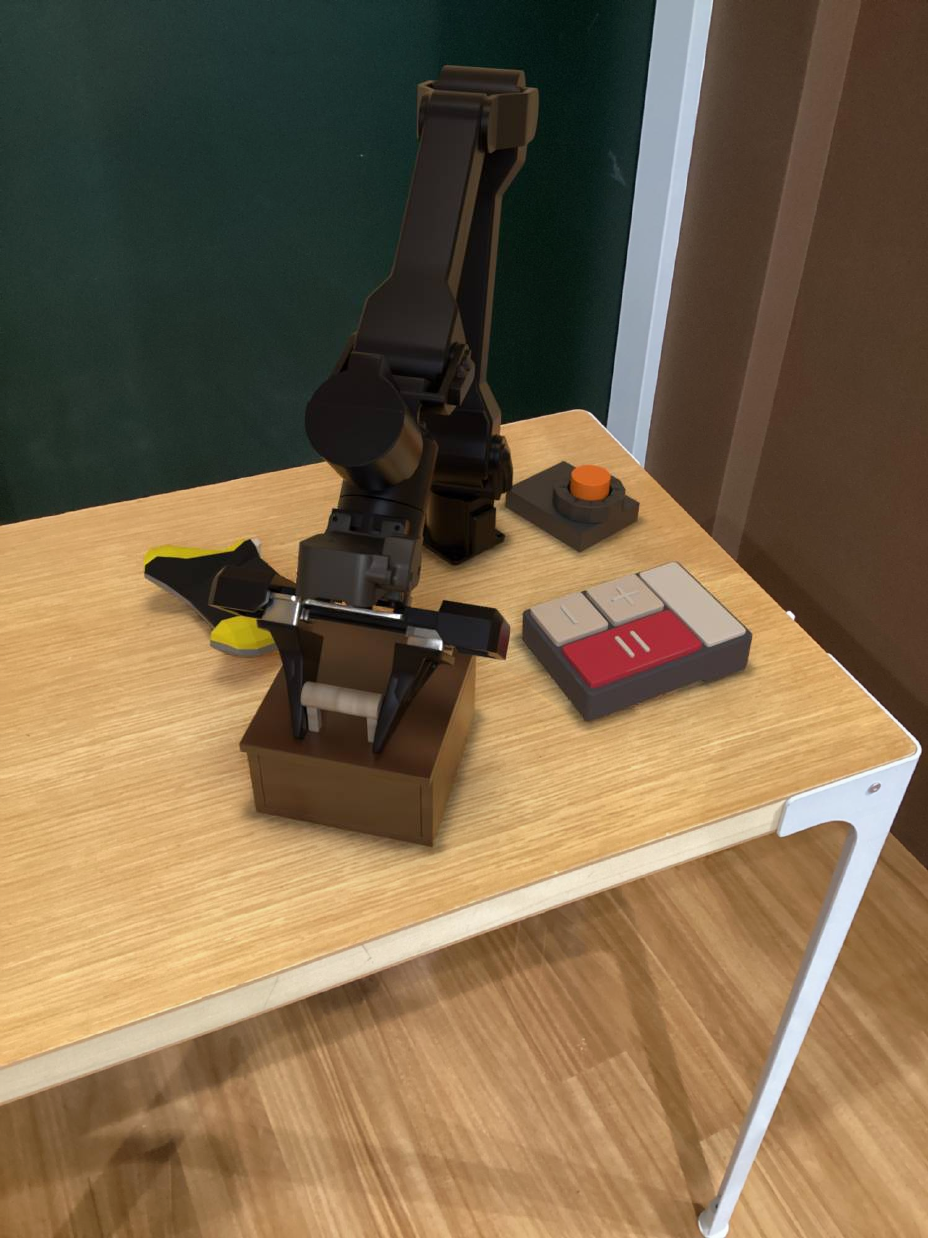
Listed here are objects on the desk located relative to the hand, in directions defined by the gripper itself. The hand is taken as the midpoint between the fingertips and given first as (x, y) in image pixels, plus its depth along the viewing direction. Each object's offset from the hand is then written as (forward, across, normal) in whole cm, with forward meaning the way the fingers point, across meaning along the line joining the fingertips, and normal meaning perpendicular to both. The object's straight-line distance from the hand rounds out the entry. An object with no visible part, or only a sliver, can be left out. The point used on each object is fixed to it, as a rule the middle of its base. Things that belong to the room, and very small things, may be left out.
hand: (337, 746), depth 68 cm
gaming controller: (-8, -16, +19) cm, 26 cm away
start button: (-26, +11, +31) cm, 42 cm away
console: (-24, +9, +35) cm, 44 cm away
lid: (-3, 0, +5) cm, 6 cm away
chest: (+1, 0, +10) cm, 10 cm away
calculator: (-11, +17, +22) cm, 30 cm away
